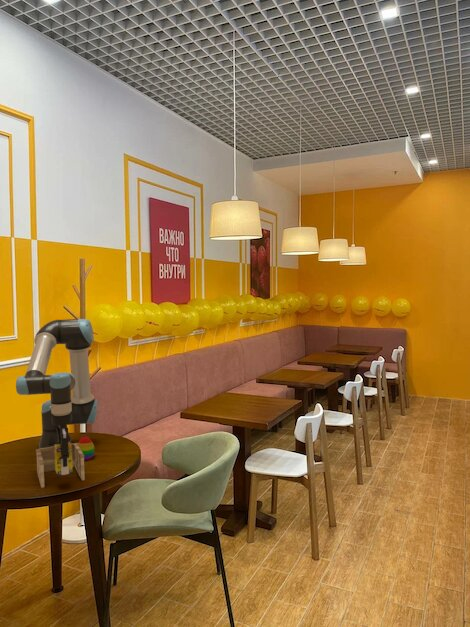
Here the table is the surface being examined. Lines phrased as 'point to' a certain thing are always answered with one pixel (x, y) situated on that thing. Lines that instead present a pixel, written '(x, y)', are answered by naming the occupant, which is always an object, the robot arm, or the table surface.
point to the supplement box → (58, 461)
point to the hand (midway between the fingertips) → (64, 471)
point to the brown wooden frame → (48, 461)
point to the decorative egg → (86, 447)
